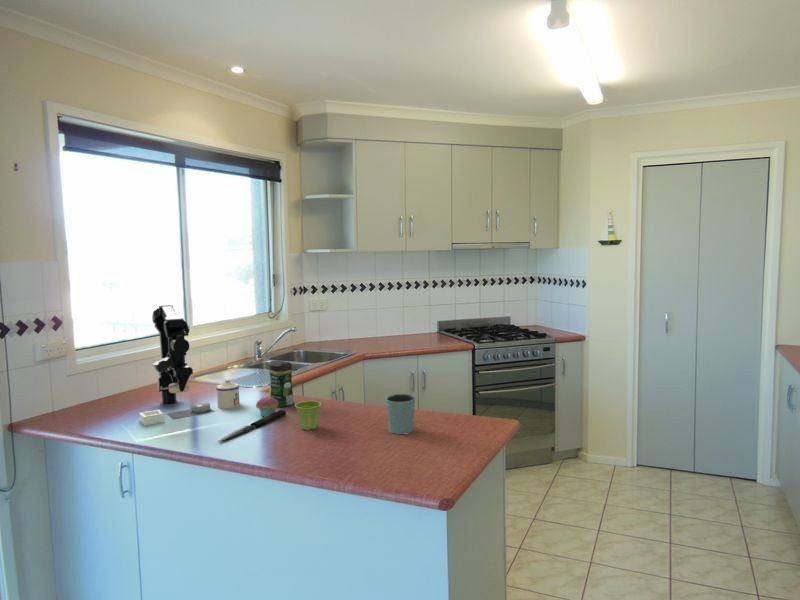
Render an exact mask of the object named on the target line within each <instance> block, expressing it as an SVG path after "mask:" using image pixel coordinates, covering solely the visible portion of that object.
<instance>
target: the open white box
mask: <svg viewBox="0 0 800 600" xmlns="http://www.w3.org/2000/svg"><path fill="white" fill-rule="evenodd" d="M138 415H139V422H140V423H141V424H142V425H143V426H144V427H145V426H150V425H155V424H161V423H164V422H165V416H164V415H165V413H164V412H163V411H161V410H160V409H159V408H158V409H154V410H148V411H143V412H139V414H138Z"/></svg>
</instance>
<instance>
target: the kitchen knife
mask: <svg viewBox="0 0 800 600" xmlns="http://www.w3.org/2000/svg"><path fill="white" fill-rule="evenodd" d="M285 414H286V415H287V412H286V411H285V410H283V409H280V410H278V411H277V410H276V411H275V413H273V414H271V415H269V416H266V417H262V418H260V419H258V420H256V421H254V422H252V423H250V425H244V426H241V427H239V428H237V429H236V430H233V431H231V432H230V433H228V434H227V435H225V436H223V437H222V438H220V439H219V440H218V441H217V442H224V441H228V440H230V439H233V438H235V437H238V436H240V435H242V434H245V433H248V432H249V431H251V430H254V429H259V428H261V427H263V426H265V425H267V424H269V423H271V422H274V421H276V420H277V418H278V419H280V418H282V417H284V416H286V415H285ZM283 415H284V416H283ZM281 416H282V417H281ZM279 417H280V418H279ZM275 419H276V420H275ZM273 420H274V421H273Z"/></svg>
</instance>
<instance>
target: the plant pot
mask: <svg viewBox="0 0 800 600" xmlns="http://www.w3.org/2000/svg"><path fill="white" fill-rule="evenodd" d="M321 405H322V403H321V402H320V401H317V400H304V401H298V402H297V403H295V404H294V407H295V409H296V411H297V416H298V422H299V428H300V429H301V430H303V429H305V430H304V431H309V430H315V429H317V428H318V425H319V424H318V423H319V413H320V409H321ZM314 428H315V429H314Z"/></svg>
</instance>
